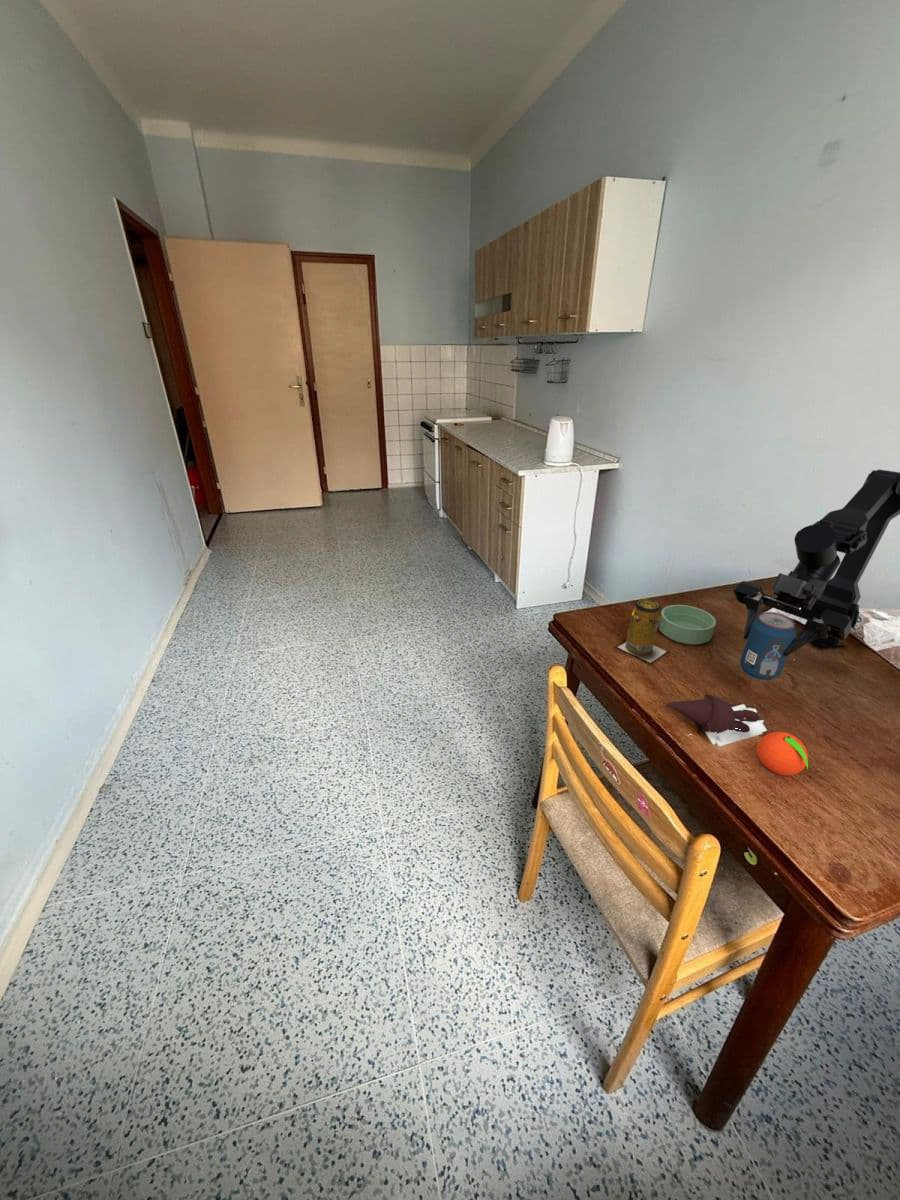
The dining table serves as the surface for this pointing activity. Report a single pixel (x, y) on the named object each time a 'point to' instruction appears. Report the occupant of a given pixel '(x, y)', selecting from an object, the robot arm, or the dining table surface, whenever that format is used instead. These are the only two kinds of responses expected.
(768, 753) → the clementine
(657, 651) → the condiment
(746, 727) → the icecream
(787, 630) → the soda can
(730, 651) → the dining table surface
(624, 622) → the dining table surface
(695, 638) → the pale green shallow bowl
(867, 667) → the dining table surface
